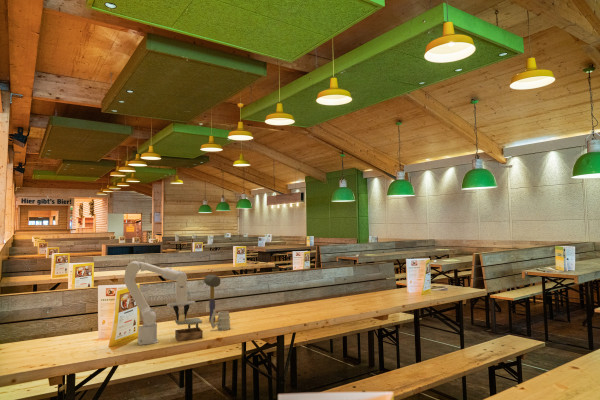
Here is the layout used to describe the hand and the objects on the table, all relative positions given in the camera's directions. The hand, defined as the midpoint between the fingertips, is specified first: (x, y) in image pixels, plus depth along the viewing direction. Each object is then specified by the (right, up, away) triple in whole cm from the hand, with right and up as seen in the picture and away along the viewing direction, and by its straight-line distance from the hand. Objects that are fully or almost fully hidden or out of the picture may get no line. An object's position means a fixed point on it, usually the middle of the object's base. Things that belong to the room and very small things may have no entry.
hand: (181, 319), depth 210 cm
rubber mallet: (+8, -14, +38) cm, 41 cm away
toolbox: (+3, -11, +3) cm, 12 cm away
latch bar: (+2, -6, +14) cm, 15 cm away
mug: (+18, -12, +18) cm, 28 cm away
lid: (+4, -2, +1) cm, 4 cm away
